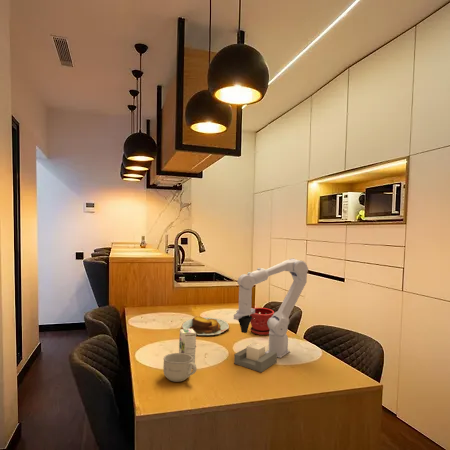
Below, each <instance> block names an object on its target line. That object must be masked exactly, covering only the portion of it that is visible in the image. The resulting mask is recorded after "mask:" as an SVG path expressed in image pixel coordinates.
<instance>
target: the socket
mask: <svg viewBox="0 0 450 450" xmlns="http://www.w3.org/2000/svg"><path fill="white" fill-rule="evenodd" d="M246 351H247V347H245V348H244V349H241V350H239V351H238V352H236V353H234V357H233V358H234V360H233V361H234V362H233V363H234V365H238V366H240V367H243V368H247V369H249V370H253V371H255V372H259V373H263V372H264V371H266V370H267V369H269V368H270V367H271V366H273V365H275V364H276V363H277V362H278V361H277V359H278V357H277V353H276V352H273V351H271V352H269V353H267V354H265V355H264V356H262V357H261V358H259V359H257V360H256V361H254V360H251V359H248V358H246Z"/></svg>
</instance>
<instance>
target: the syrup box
mask: <svg viewBox="0 0 450 450" xmlns="http://www.w3.org/2000/svg"><path fill="white" fill-rule="evenodd" d="M178 340H179V342H178V343H179V344H178V353H185V354H189V355H191V356H192V358H193V359H192V362H193V363H195V364H196V345H197V344H196V343H197V333H196V332H195V331H194V330H193V329H183V328H181V329H179V339H178ZM192 369H193V367H192Z"/></svg>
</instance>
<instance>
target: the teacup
mask: <svg viewBox="0 0 450 450" xmlns="http://www.w3.org/2000/svg"><path fill="white" fill-rule="evenodd" d="M192 359H193V358H192V356H191V355H189V354H185V353H179V352H174V353H173V352H172V353H169V354H168V353H167V354H166V355H165V356H163V374H164V377H166V378H167V380H169V381H171V382H175V383H176V382H179V383H180V382H183V381H185V380H187V379H188V378H189V377H190V376H192V375H193V374H195V373H196V372H197V365H196V362H195V363H193V362H192ZM192 367H193V368H192Z"/></svg>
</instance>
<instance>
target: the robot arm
mask: <svg viewBox="0 0 450 450" xmlns="http://www.w3.org/2000/svg"><path fill="white" fill-rule="evenodd" d="M308 271H309V267H308V265H307V263H306V262H305V261H304V260H299V259H296V258H289V259H286V260H285V259H284V261H281V262H279V263H277V264H275V265H272V266H270V267H269V268H266V269H265V268H264V267H262V268H261V267H257V268H256V270H253V271H251V272H250V271H249V272H247V274H246V273H245V274H244V273H242V274H241V275H240V276H239V277H238V278H237V279H238V280H237V281H236V282H237V284H238V309H237V310H236V313H235V314H233V320H236V321H238V323H239V327H240V330H241V333H242V334H243V333H244V334H247V333H248V331H249V330H248V329H249V326H250V325H251V322H250V321H251V320H252V316H250V315H251V314H252V313H253V314H254V313H255V309H253V307H252V296H253V291H252V290H253V287H254V286H255V285H257V284H260V283H263V282H265V281H267V280H268V279H269V277H270V276H273V275H274V276H275V275H277V274H279V273H282V272H288V273H290V274H291V277H292V279H293V282H292V283H291V285H290V287H289V289H288V292H287V293H286V295H285V297H284V299H283V300H282V303H281V304H280V306H279V308H278V310H277V311H274V314H273V316H272V317H271V318H269V320H268V322H267V325H268V328H269V329H270V331H269V334H268V349H267V350H265V354H267V353H269V352H271V351H273V352H276V353H277V358H279V359H280V358H283V357H284V356H285V355H287V354H288V353H290V350H289V348H288V347H289V346H288V345H289V337H288V334H287V332H288V330H289V328H288V327H289V324H290V318H289V317H290V315H291V314H292V312H293V309H294V307H295V306H296V303H297V302H298V299H299V297H300V295H301V294H302V292H303V290H304V288H305V286H306V284H307V279H308Z"/></svg>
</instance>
